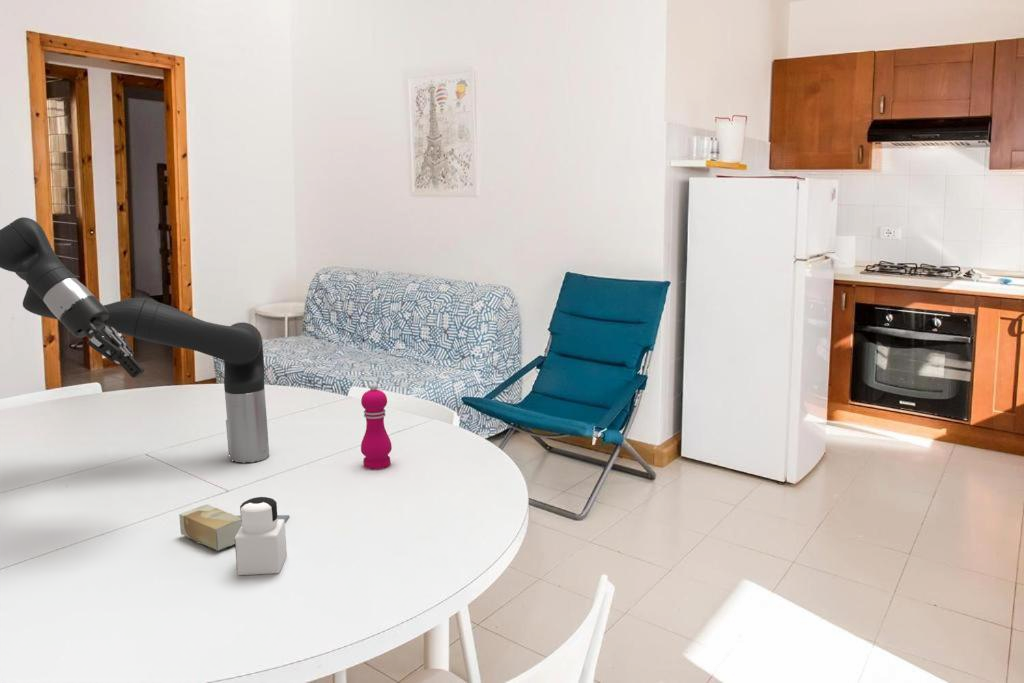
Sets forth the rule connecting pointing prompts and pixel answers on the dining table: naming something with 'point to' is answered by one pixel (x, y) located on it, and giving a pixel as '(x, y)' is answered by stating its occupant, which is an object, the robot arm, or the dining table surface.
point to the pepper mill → (375, 430)
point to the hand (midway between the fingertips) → (139, 374)
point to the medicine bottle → (260, 538)
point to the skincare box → (210, 526)
